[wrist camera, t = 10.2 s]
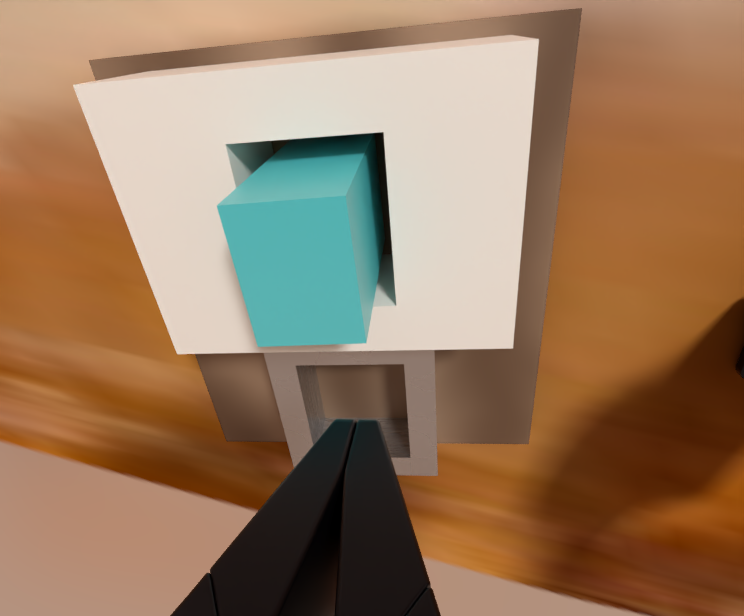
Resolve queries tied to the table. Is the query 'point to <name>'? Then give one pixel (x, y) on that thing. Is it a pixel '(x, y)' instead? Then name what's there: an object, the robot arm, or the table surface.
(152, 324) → the table surface
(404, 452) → the holster
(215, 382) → the board
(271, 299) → the plug
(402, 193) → the port box
